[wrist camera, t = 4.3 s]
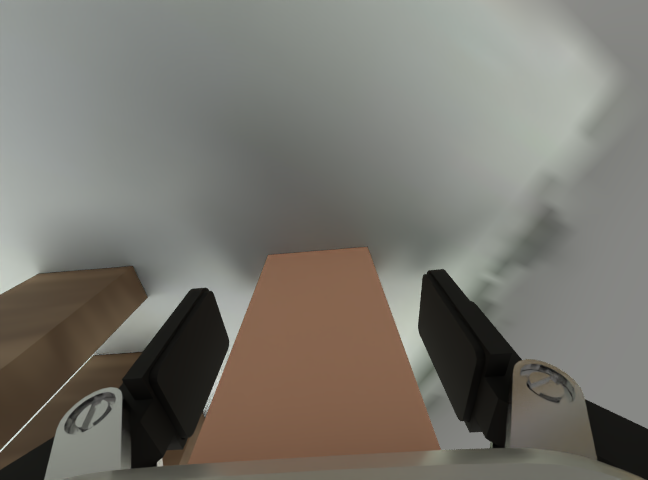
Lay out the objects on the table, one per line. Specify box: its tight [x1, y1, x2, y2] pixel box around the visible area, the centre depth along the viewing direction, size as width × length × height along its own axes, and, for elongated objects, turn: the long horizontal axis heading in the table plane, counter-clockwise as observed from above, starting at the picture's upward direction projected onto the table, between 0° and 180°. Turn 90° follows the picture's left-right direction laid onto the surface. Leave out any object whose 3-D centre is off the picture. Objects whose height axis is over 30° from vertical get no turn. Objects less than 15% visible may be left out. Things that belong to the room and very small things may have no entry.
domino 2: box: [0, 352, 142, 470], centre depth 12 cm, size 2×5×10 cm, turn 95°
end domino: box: [187, 247, 441, 465], centre depth 9 cm, size 2×5×10 cm, turn 95°
